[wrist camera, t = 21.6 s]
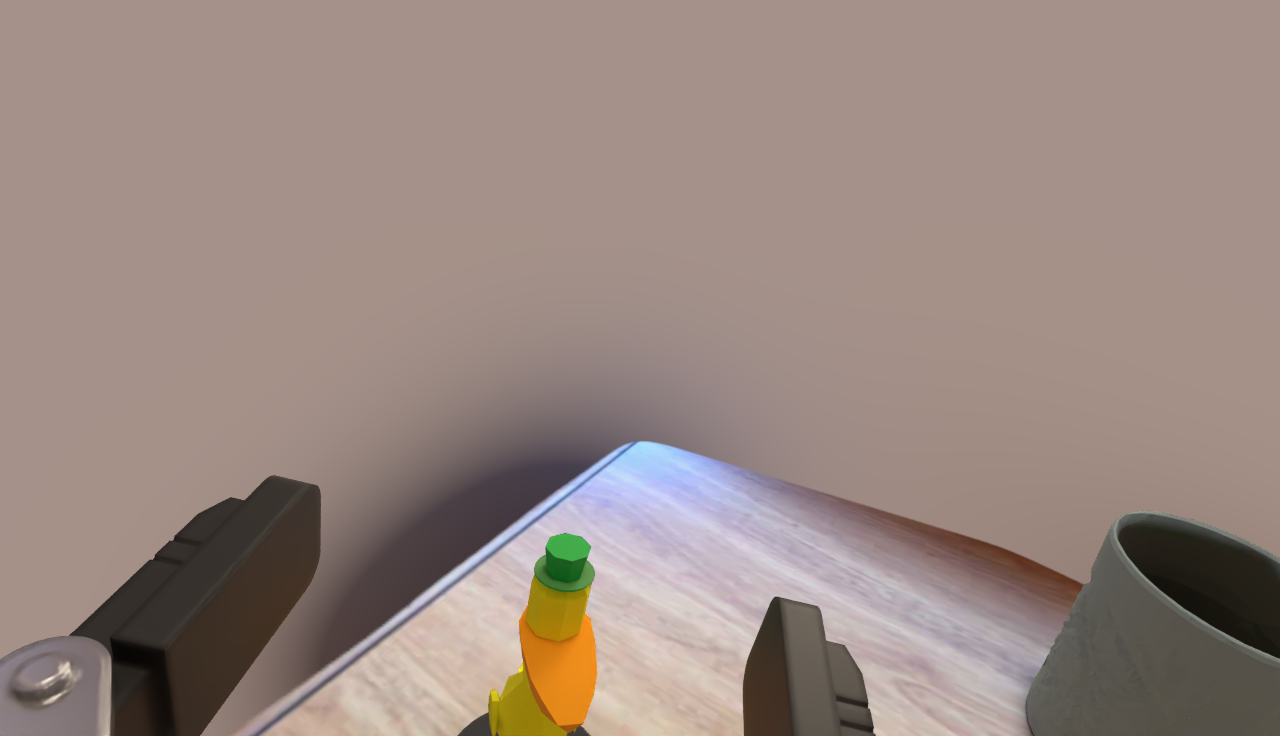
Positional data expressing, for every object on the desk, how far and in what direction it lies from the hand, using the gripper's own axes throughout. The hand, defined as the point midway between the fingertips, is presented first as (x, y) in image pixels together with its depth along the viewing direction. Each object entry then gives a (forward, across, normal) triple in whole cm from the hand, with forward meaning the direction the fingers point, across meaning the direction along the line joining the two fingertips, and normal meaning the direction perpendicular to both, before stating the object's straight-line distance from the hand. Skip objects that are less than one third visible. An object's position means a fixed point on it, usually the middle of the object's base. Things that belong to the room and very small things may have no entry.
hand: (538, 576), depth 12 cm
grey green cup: (+17, -30, +20) cm, 40 cm away
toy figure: (+9, 0, +20) cm, 22 cm away
